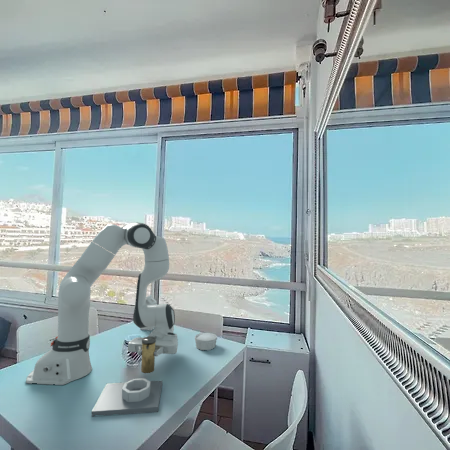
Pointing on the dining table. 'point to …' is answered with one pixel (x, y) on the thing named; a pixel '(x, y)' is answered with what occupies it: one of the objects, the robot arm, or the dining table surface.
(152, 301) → the milk carton
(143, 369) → the cylinder
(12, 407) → the dining table surface
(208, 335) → the ramekin
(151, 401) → the socket base
